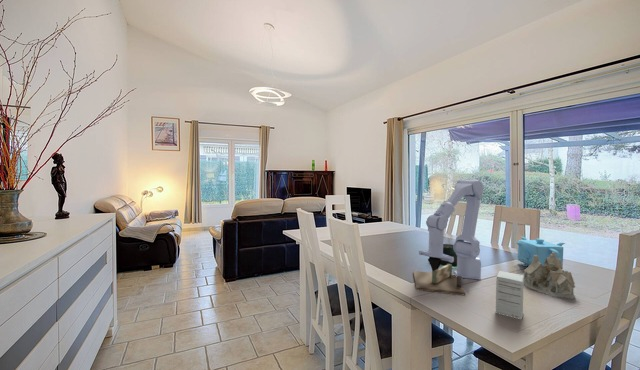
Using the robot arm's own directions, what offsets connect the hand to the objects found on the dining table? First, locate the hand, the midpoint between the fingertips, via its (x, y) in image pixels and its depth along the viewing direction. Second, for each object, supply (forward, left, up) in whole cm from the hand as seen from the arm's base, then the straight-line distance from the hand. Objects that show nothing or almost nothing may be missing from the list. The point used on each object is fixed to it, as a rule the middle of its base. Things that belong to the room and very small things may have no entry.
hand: (435, 274), depth 121 cm
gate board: (-1, 0, -4) cm, 4 cm away
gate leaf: (-3, -2, -2) cm, 4 cm away
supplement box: (-21, +21, -4) cm, 30 cm away
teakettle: (-53, -36, -4) cm, 64 cm away
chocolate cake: (-11, -33, -4) cm, 35 cm away
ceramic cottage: (-44, -6, -4) cm, 44 cm away
